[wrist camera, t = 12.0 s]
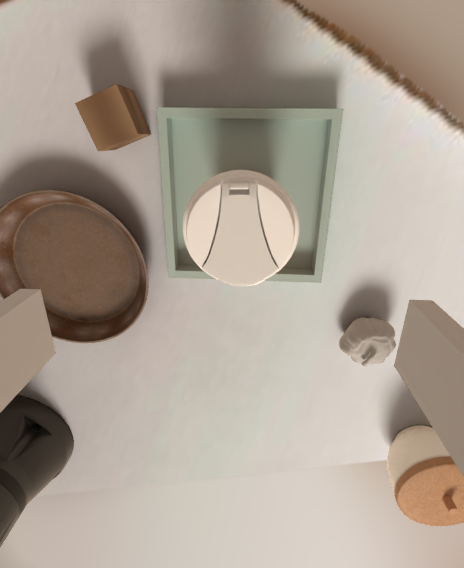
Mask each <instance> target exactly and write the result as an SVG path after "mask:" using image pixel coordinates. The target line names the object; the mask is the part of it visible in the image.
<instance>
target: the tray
mask: <svg viewBox="0 0 464 568" xmlns="http://www.w3.org/2000/svg"><path fill="white" fill-rule="evenodd" d="M342 113H343V109H299V108H167V107H157V119H158V134H159V149H160V163H161V178H162V193H163V207H164V222H165V236H166V251H167V266H168V277H172V278H201V279H215V278H214V277H212V276H210V275H208V274H207V273H206V272H205V271H203V270H202V269H201V268H200V267H199V266H198V265H197V264H196V263H195V261H194V260H193V258H192V257H191V255H190V253H189V251H188V249H187V247H186V244H185V241H184V235H183V218H184V213H185V210H186V207H187V204H188V202H189V200H190V198H191V197H192V195H193V194H194V193H195V191H196V190H197V189H198V188H199V187H200V186H201V185H202V184H203V183H204V182H206V181H207V180H209V179H210V178H212V177H213V176H216V175H218V174H220V173H223V172H227V171H232V170H251V171H255V172H259V173H261V174H264V175H266V176H268V177H270V178H271V179H273V180H275V181H276V182H277V183H278V184H280V185H281V186H282V187H283V188H284V189H285V190H286V192H287V193H288V194H289V195H290V197H291V199H292V201H293V203H294V205H295V207H296V210H297V213H298V218H299V237H298V242H297V245H296V248H295V250H294V252H293V254H292V256H291V258H290V259H289V261H288V262H287V263H286V264H285V266H284V267H283V268H282V269H281V270H279V271H278V272H277V273H275V274H274V275H273V276H271V277H269V278H267V279H265V280H264V281H288V282H317V283H321V280H322V272H323V264H324V256H325V248H326V240H327V233H328V225H329V217H330V209H331V201H332V193H333V185H334V177H335V169H336V161H337V153H338V145H339V137H340V129H341V121H342Z"/></svg>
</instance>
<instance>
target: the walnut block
mask: <svg viewBox="0 0 464 568" xmlns="http://www.w3.org/2000/svg"><path fill="white" fill-rule="evenodd" d="M75 104H76V106H77V108H78V110H79V113H80V115H81V117H82V119H83V121H84V123H85V125H86V127H87V129H88V131H89V133H90V135H91V138H92V140H93V142H94V144H95V146H96V148H97V150H98V151H107V150H116V149H118V148H121V147H123V146H125V145H128V144H130V143H132V142H135V141H137V140H139V139H142V138H144V137H146V136H149V135H151V133H150V131H149V129H148V126H147V124H146V122H145V119H144V117H143V114H142V112H141V110H140V107H139V105H138V102H137V100H136V98H135V95H134V93H133V91H132V90H130V89H128V88H125V87H123V86H120V85H118V84H115V85H113V86H111V87H109V88H107V89H105V90H103V91H100V92H98V93H96V94H94V95H92V96H90V97H88V98H86V99H83V100H81V101H79V102H77V103H75Z"/></svg>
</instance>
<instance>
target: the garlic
mask: <svg viewBox="0 0 464 568" xmlns="http://www.w3.org/2000/svg"><path fill="white" fill-rule="evenodd" d="M394 336H395V331H394V328H393V327H392V326H391V325H390V324H389V323H388V322H386V321H385V320H379V319H377V318H374V317H371V318H358V319H356V320H354V321H353V322H352V323H351V325H350V326H349V327H348V328H347V329H346V331H345V332H344V334H343V336H342V337H341V338H340V341H339V345H340V348H341V350H342V351H343V352H344V353H346V354H347V355H349V356H351V358H352V360H353V361H354V362H357V363H362V365H363V366H367V365H369V364H377V363H383V362H384V360H385V358H386V357H388V356H389V355H390V353H391V352H392V351H393V350H394V348H395V346H396V343H395V341H394Z"/></svg>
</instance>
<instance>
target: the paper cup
mask: <svg viewBox="0 0 464 568" xmlns="http://www.w3.org/2000/svg"><path fill="white" fill-rule="evenodd" d="M183 235H184V241H185V244H186V247H187V249H188V251H189V253H190V255H191V257H192V258H193V260H194V261H195V263H196V264H197V265H198V266H199V267H200V268H201V269H202V270H203V271H205V272H206V273H207V274H208V275H210V276H212V277H214V278H215V279H218V280H220V281H222V282H224V283H226V284H229V285H232V286H251V285H256V284H259V283H260V282H262V281H264V280H265V279H267V278H269V277H271V276H273V275H274V274H275V273H277V272H278V271H279V270H281V269H282V268H283V267H284V266H285V264H286V263H287V262H288V261H289V259H290V258H291V256H292V254H293V252H294V250H295V248H296V245H297V242H298V237H299V218H298V213H297V210H296V207H295V205H294V203H293V201H292V199H291V197H290V195H289V194H288V193H287V192H286V190H285V189H284V188H283V187H282V186H281V185H280V184H278V183H277V182H276V181H275V180H273V179H271V178H270V177H268V176H266V175H264V174H261V173H259V172H255V171H251V170H232V171H227V172H223V173H220V174H218V175H216V176H213V177H212V178H210V179H209V180H207V181H206V182H204V183H203V184H202V185H201V186H200V187H199V188H198V189H197V190H196V191H195V193H194V194H193V195H192V197H191V198H190V200H189V202H188V204H187V207H186V210H185V213H184V218H183Z"/></svg>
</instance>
